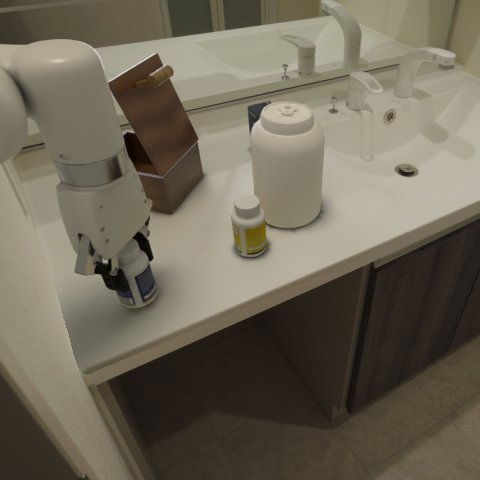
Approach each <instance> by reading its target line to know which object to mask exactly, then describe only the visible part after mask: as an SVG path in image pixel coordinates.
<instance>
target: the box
mask: <svg viewBox="0 0 480 480" xmlns="http://www.w3.org/2000/svg"><path fill="white" fill-rule="evenodd" d="M272 103H273V102H271V100H268V101H263V102H259V103H255V104H254V103H253V104H251V105H247V119H248V130H249V131H248V132H249V135H250V134H251V130H252V127H253V126H254V124H255V123H256V122H257V121H258V120H259V119H260V115H261V112H262V110H263V108H264V107H266V106H267V105H269V104H272Z"/></svg>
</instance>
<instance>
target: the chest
mask: <svg viewBox="0 0 480 480" xmlns="http://www.w3.org/2000/svg"><path fill="white" fill-rule="evenodd" d="M122 135H123V137H124V142H125V146H126V149H127V153H128V156H129V158H130V160H131V161H132V163H133V165H134V167H135V169H136V171H137V173H138V176H139V178H140V181H141V183H142V186H143V189H144V192H145V195H146V198H148V199H150V200H152V201H153V204H152V207H151V211H152V212H153V211H154V212H159V213H164V214H169V215H172V214H173V213H174V212H175V210H177V208H178V206H179V205H180V204H181V203H182V202H183V201H184V199H186V197H187V196H188V195H189V194H190V192H192V190H193V188H194V187H195V186H196V185H197V184H198V183H199V181H201V179H202V178H203V177H204V171H203V170H204V169H203V165H202V158H201V153H200V152H201V151H200V146H199V141H197V142H196V143H195V144H194V145H193V146H192V147H191V148H190V149H189V150H188V151H187V153H186V154H185V155H184V156H183V157H182V158H181V159H180V160H179V161H178V162H177V163H176V164H175V165H174V166H173V167H172V168H171V169H170V170H169V171H168V172H167V174H166V175H165V176H163V177H160V176H159V174H158V172H157V170H156V169H155V167H154V165H153V163H152V162H151V160H150V158H149V156H148V155H147V153H146V151H145V149H144V148H143V146H142V144H141V143H140V141H139V139H138V137H137V136H136V134H135V132H134V130H130V129H125V130H124V131H122Z"/></svg>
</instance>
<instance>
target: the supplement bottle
mask: <svg viewBox="0 0 480 480" xmlns="http://www.w3.org/2000/svg"><path fill="white" fill-rule="evenodd" d="M233 201H234V202H233V205H234V206H233V207H234V210H233V211H232V213H231V215H230V216H231V218H230V219H231V228H232V235H233V241H234V249H235V251H236V252H237V254H238V255H240V256H242V257H245V258H254V257H258V256H260V255H262V254H263V253H264V252H265V251H266V249H267V245H268V240H267V225H266V224H267V223H266V222H265V213H264V211H263V210H262V209H261V208H260V200H259V198H258V197H257V196H255V195H254V194H250V193H245V194H241V195H239V196H237V197H236V198H235V199H234V200H233Z"/></svg>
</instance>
